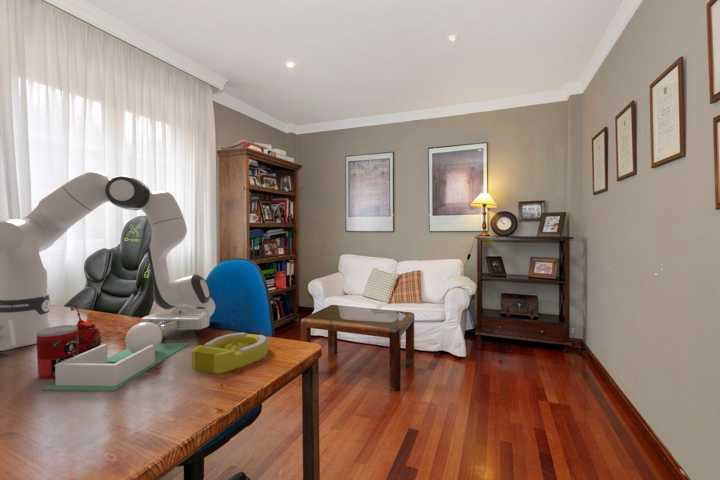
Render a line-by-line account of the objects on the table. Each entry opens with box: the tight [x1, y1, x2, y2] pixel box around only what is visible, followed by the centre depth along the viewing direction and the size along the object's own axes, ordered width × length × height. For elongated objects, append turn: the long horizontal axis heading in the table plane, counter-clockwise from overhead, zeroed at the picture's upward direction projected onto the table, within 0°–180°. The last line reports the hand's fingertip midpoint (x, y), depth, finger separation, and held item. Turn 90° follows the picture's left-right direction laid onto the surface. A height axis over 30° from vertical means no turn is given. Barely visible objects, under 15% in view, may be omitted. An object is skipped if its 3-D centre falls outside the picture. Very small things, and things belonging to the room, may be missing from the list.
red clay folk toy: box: [70, 301, 102, 355], centre depth 100 cm, size 8×7×15 cm
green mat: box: [42, 342, 189, 392], centre depth 91 cm, size 31×16×1 cm, turn 178°
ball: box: [124, 322, 163, 353], centre depth 97 cm, size 9×9×9 cm
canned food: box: [36, 324, 79, 380], centre depth 85 cm, size 8×8×11 cm
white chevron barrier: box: [55, 343, 155, 386], centre depth 84 cm, size 14×14×5 cm
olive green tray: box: [191, 332, 269, 374], centre depth 96 cm, size 16×21×5 cm
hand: (160, 328), depth 105 cm, fingers closed
